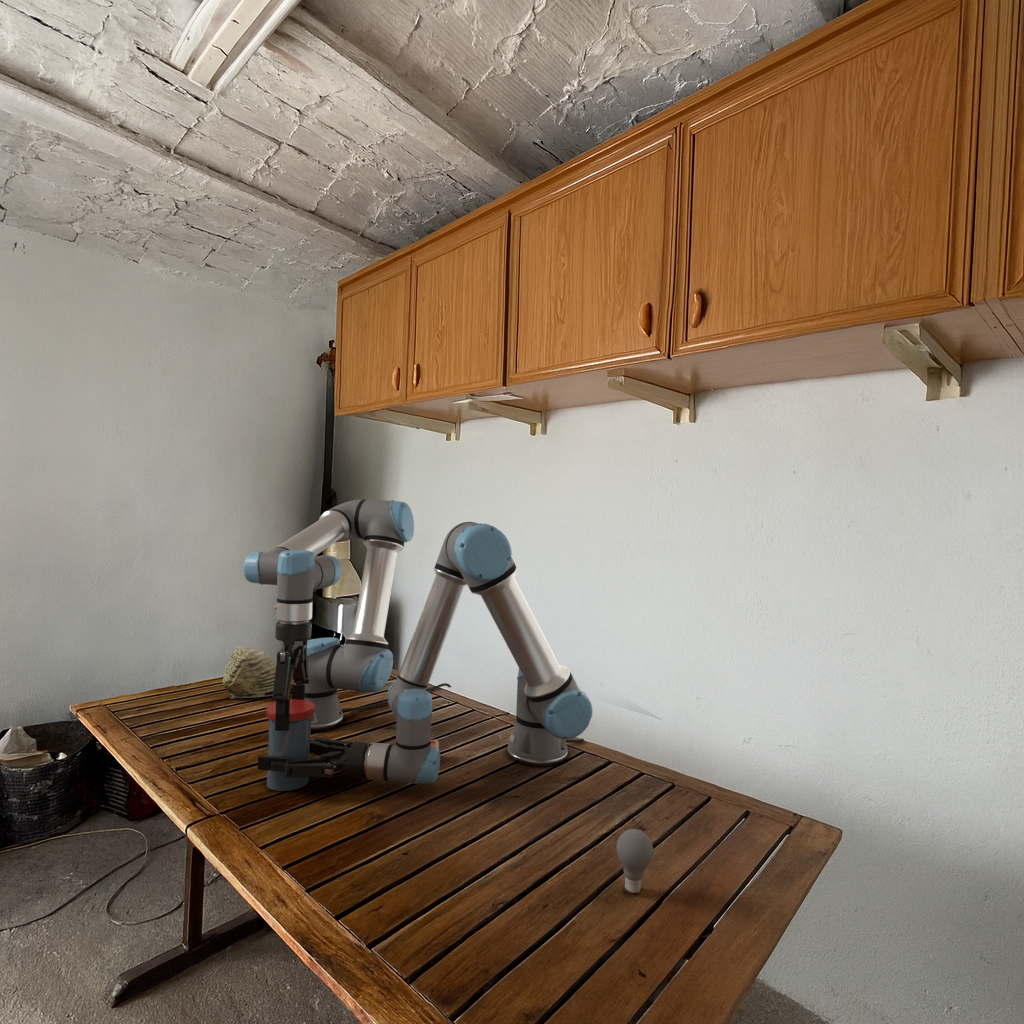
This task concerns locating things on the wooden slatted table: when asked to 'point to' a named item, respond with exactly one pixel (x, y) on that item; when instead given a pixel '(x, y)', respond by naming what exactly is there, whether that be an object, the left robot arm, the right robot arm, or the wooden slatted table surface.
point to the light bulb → (634, 857)
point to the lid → (293, 710)
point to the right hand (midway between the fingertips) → (268, 753)
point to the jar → (288, 752)
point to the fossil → (249, 673)
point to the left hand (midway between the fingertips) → (290, 721)
